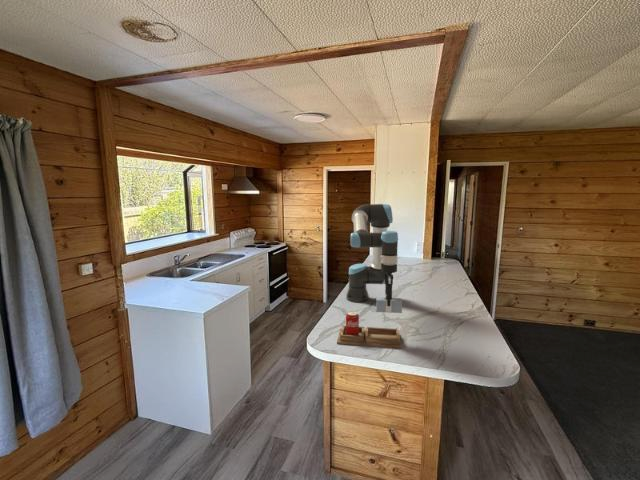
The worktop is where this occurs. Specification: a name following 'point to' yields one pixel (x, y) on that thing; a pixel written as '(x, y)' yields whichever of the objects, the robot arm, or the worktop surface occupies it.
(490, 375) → the worktop surface
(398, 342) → the tray
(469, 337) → the worktop surface
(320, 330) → the worktop surface
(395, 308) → the bar
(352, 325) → the beverage can
